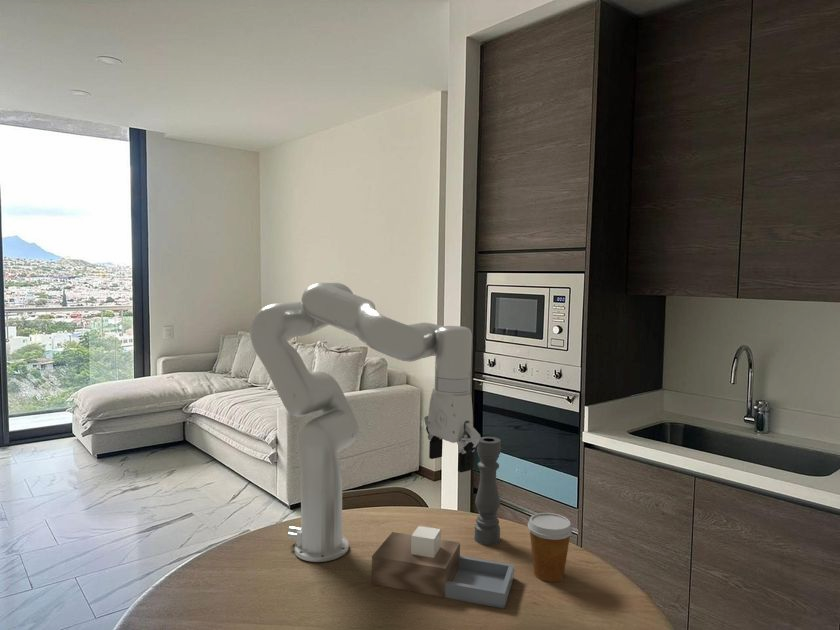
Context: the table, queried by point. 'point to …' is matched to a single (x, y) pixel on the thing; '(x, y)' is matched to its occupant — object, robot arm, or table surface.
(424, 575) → the brown wooden box
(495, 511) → the candle holder
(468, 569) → the box
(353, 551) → the table surface
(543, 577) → the disposable coffee cup
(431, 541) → the white block
